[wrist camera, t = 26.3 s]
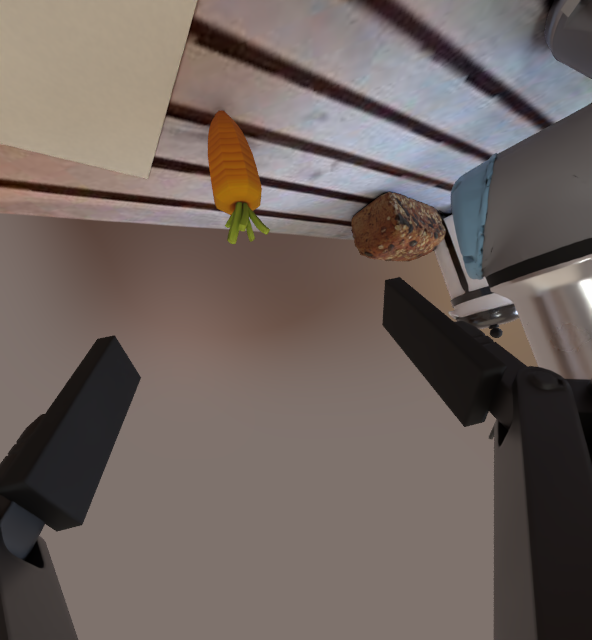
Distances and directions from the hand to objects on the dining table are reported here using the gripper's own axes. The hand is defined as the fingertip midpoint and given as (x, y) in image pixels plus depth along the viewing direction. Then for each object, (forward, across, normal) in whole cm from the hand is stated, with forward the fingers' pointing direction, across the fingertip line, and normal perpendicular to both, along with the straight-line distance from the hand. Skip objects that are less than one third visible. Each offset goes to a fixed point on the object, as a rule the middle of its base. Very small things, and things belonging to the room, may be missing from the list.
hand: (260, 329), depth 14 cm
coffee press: (+49, +49, -13) cm, 70 cm away
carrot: (+26, 0, +11) cm, 28 cm away
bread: (+45, +30, -8) cm, 55 cm away
